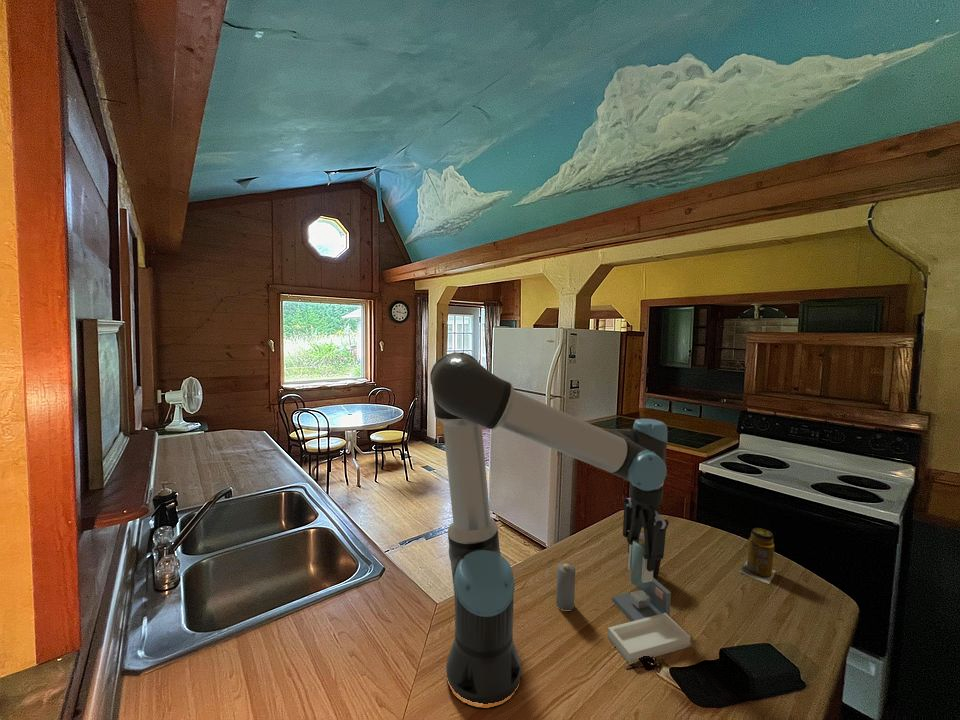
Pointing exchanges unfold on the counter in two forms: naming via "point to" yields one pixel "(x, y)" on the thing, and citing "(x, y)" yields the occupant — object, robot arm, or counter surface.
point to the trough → (648, 637)
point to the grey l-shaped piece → (658, 606)
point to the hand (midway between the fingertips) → (639, 574)
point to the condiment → (760, 556)
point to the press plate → (640, 599)
